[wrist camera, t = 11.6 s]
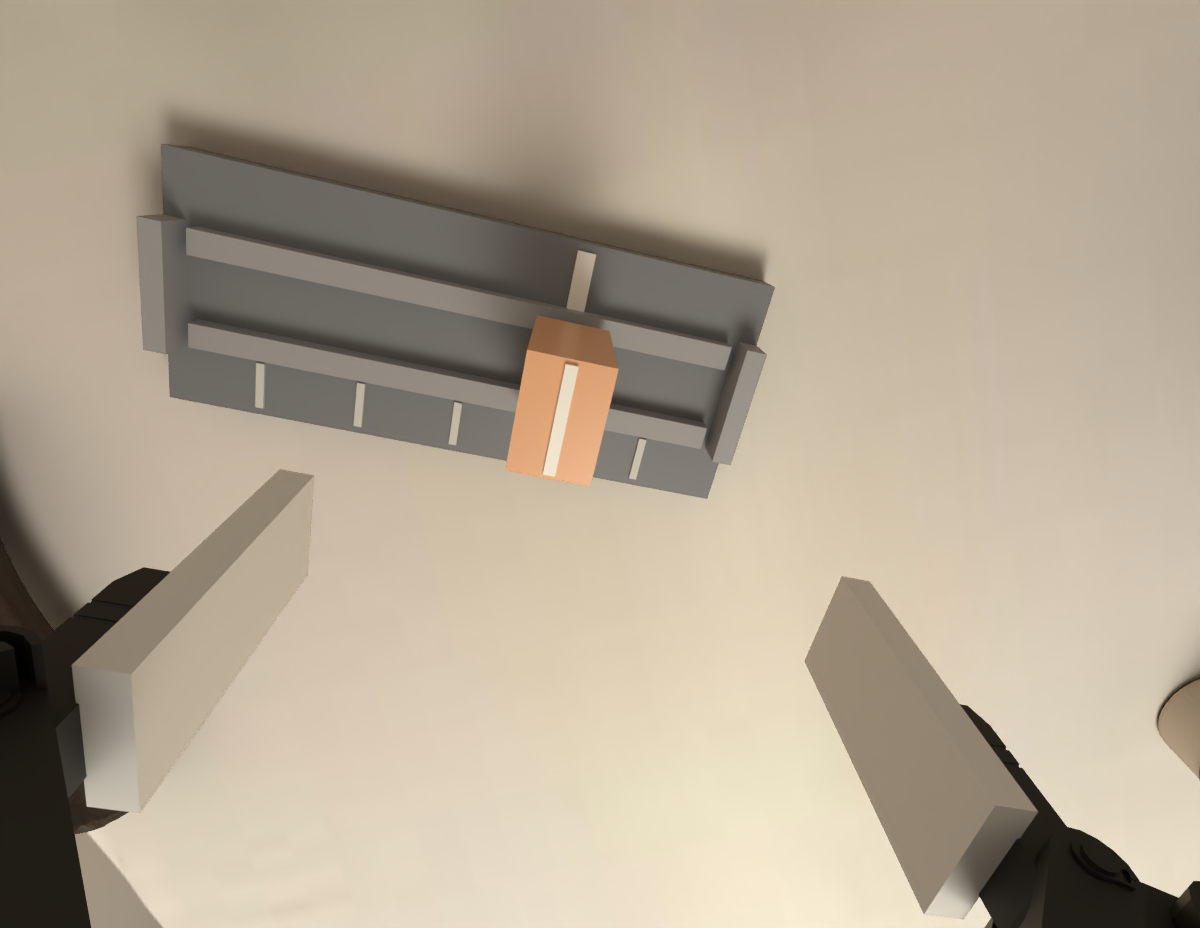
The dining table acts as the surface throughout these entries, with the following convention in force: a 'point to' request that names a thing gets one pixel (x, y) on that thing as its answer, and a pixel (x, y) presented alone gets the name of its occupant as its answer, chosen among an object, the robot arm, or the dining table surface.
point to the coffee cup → (1183, 725)
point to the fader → (563, 401)
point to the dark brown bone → (11, 604)
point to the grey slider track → (432, 319)
